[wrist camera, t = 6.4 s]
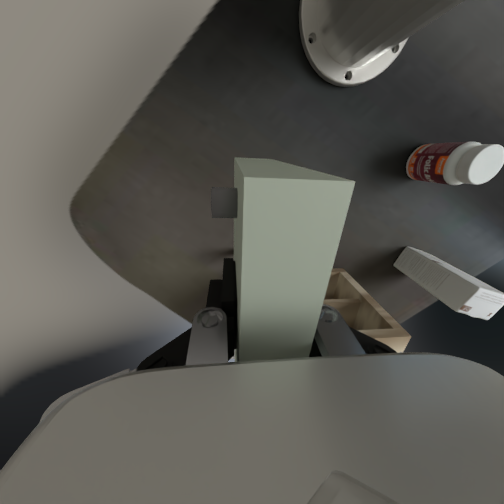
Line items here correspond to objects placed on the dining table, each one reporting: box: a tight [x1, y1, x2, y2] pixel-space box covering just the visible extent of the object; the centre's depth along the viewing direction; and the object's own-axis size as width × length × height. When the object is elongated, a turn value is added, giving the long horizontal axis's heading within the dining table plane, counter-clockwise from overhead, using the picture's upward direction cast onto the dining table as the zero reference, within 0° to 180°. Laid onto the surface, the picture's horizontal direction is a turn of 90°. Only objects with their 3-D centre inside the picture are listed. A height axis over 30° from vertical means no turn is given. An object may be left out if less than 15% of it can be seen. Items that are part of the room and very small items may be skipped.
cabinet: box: [323, 268, 411, 353], centre depth 30 cm, size 16×19×15 cm
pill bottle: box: [406, 142, 504, 185], centre depth 25 cm, size 5×5×8 cm
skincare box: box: [393, 246, 504, 320], centre depth 31 cm, size 6×4×12 cm
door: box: [211, 157, 355, 362], centre depth 12 cm, size 16×4×10 cm, turn 177°
